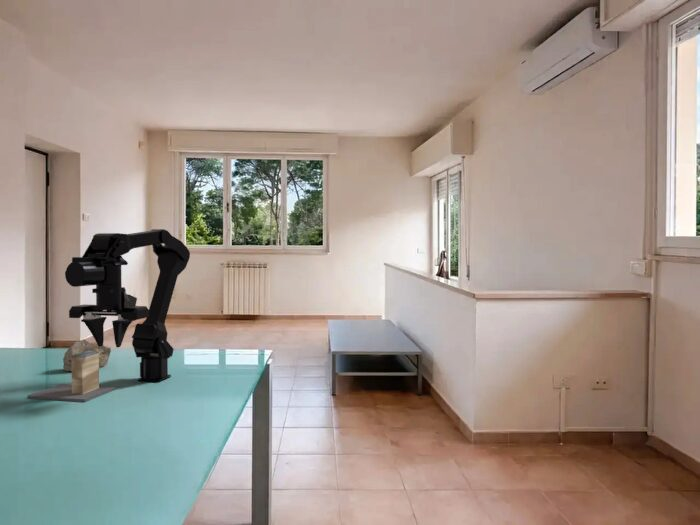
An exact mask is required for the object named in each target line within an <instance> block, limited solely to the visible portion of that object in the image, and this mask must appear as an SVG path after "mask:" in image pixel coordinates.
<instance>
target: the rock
mask: <svg viewBox="0 0 700 525" xmlns="http://www.w3.org/2000/svg"><path fill="white" fill-rule="evenodd" d="M111 348H112V347H111V346H106V345H104V344H103V346H101V347H99V346H98V344H97V342H96V341H95V342H89V341H87V340H86V339H81V340H77V341H75V342H74V343H73V344H72V345H71V346H70V347H68V348H67V350H66V351H65V353H64V356H63V358H62V360H63V361H62V362H63V371H66V372H72V362H71V356H73V355H76V354H80V353H83V352H87V351H99V369H101V368H104V367H105V366H107V365H108V363H109V360H110V355H111V352H112V349H111Z"/></svg>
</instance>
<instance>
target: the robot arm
mask: <svg viewBox="0 0 700 525" xmlns="http://www.w3.org/2000/svg"><path fill="white" fill-rule="evenodd" d="M149 246H152V252H153V253H154V254H155V255H156V256H157V262H156V263H157V266H158V269H159V274H158V278H157V281H156V285H155V287H154V291H153V295H152V299H151V302H150V304H149V308H148V307H147V305H137V300H138V297H135V296H133V295H130V294H128V293H127V292H126V288H125V287H124V286H123V287H122V266H127V265H128V264H129V262H128V261H127V260H126V259H124V258H123V255H126V254H128V253H129V252H130V251H131V250H134V249H139V248H143V247H149ZM190 257H191V253H190V249H189V248H188V247H187V246H186V245H185V244H184V242H182V241H181V240H180V239H178V238H177V237H175V236H173V235H172V234H171V233H170V231H169V230H167V229H162V228H161V229H157V228H155V229H154V228H153V229H151V230H146V231H140V232H133V233H120V232H118V233H117V232H116V233H115V232H113V233H112V232H111V233H108V232H107V233H105V232H104V233H95V234H94V235H93V236H92V238H91V242H90V243H89V245H88V247H87V248H86V250H85V251H84V253H83V255H82V256H73V257H71V262H70V263H69V264H68V265H67V267H66V270H65V272H64V275H65V276H64V278H65V280H66V282H67V283H68V284H69V286H71V287H74V288H76V287H77V288H79V287H88V286H95V287H94V288H92V294H95V299H96V303H95V304H79V305H78V304H77V305H73V306H71V307H70V309H69V310H68V317H69V319H80V322H82V323H84V325H85V326H86V328H87V329H88V331H89V332H90V333H91V335H92V337H93V338H94V340H95V342H97V344H98V346H99V347H101V346H103V345H104V340H105V339H104V335H105V334H104V324H105V321H106V320H107V316H109V317H110V316H111V317H117V319H116V320H112V321H111V322H112V330H113V337H114V344H115V347H116V348H120V347H121V346H122V343H123V340H124V338H125V335H126V332H127V330H128V328H129V326H130V325H131V324H132V323H133V322H134V321H137V320H143V319H145V320H144V321H143V322H142V323H136V324H135V326H134V330H133V334H132V335H131V338H132V341H131V345H132V347H133V350H134V353H135V357H136V358H141V361H140V362H139V376H140V377H139V378H138V379H137V382H150V383H151V382H153V383H159V382H162V381H164V380H167V379H169V378H170V377H172V375H171V374H169V373H168V372H169V371H168V370H169V369H168V368H169V367H168V366H169V364H168V361H169V359H170V358H171V357H173V356H174V355H173V353H174V349H175V348H173V346H172V345H171V344H170V343H169V342H168V341H167V340H168V339H167V338H168V331H167V327H166V324H165V323H166V320H167V315H168V312H169V309H170V305H171V302H172V297H173V294H174V291H175V286H176V283H177V279H178V276H180V274H181V273H182V272H183V271H184V270H185V269H186V268H187V265H188V263H189V261H190ZM81 317H82V319H81Z"/></svg>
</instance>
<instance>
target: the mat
mask: <svg viewBox="0 0 700 525" xmlns="http://www.w3.org/2000/svg"><path fill="white" fill-rule="evenodd" d="M115 390H116V387H115V386H106V385H105V386H104V385H103V386H102V385H101V386H100V385H99V388H98V389H95V390H93V391H90V392H88V393H85V394H72V383H70V384H69V383H60V384H57V385H54V386H51V387H49V388H45V389H42V390H40V391H36V392H33V393H31V394H28V395H27V399H36V398H40V399H39V400H50V399H51V400H50V401H53V400H55V401H67V402H80V403H82V402H83V403H85V402H88V401H90V400H94V399H95V398H98V397H100V396H103V395H105V394H108V393H109V392H112V391H115ZM41 398H42V399H41Z"/></svg>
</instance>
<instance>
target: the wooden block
mask: <svg viewBox="0 0 700 525" xmlns="http://www.w3.org/2000/svg"><path fill="white" fill-rule="evenodd" d="M71 362H72V371H71V384H72V394H85V393H88V392H90V391H93V390H95V389H98V388H99V386H100V368H99V351H87V352H83V353H80V354H76V355H73V356H71Z"/></svg>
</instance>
